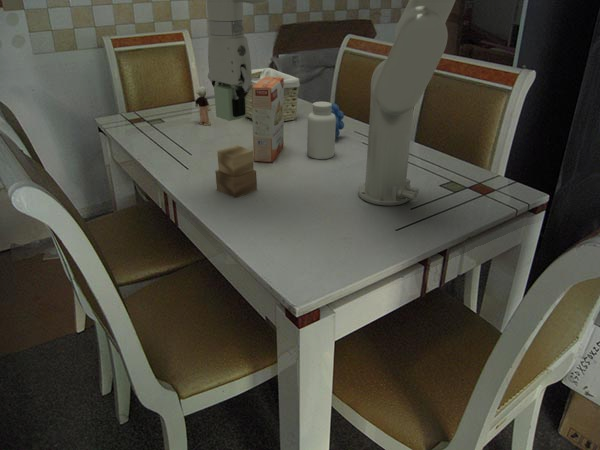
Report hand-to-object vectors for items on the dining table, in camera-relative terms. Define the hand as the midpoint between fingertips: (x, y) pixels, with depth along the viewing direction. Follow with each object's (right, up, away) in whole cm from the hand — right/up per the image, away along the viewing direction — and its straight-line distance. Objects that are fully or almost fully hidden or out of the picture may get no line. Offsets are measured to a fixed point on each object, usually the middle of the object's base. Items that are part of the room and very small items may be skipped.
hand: (231, 112), depth 116 cm
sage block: (0, -1, 0) cm, 1 cm away
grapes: (+25, +1, +43) cm, 50 cm away
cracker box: (+7, -5, +32) cm, 33 cm away
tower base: (0, -17, +9) cm, 19 cm away
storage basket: (+3, +14, +68) cm, 70 cm away
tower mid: (0, -13, +7) cm, 14 cm away
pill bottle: (+22, -6, +31) cm, 38 cm away
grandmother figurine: (-17, +9, +59) cm, 62 cm away
